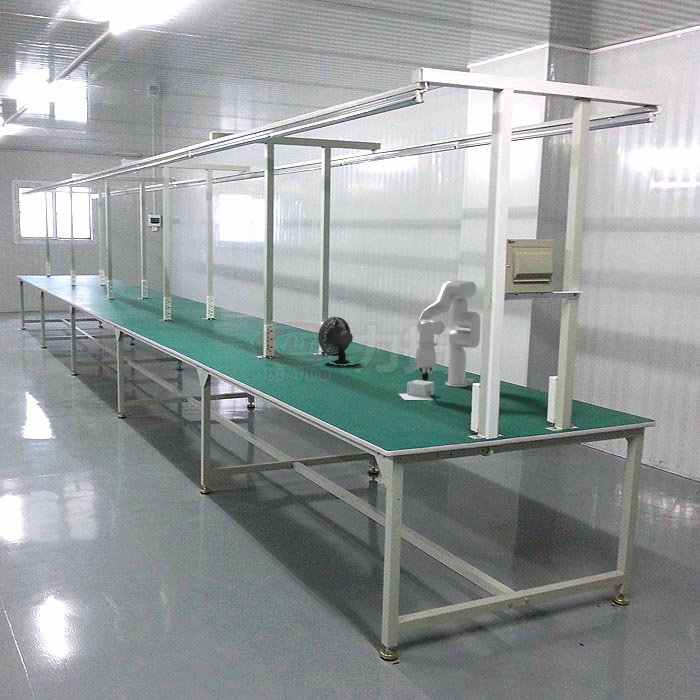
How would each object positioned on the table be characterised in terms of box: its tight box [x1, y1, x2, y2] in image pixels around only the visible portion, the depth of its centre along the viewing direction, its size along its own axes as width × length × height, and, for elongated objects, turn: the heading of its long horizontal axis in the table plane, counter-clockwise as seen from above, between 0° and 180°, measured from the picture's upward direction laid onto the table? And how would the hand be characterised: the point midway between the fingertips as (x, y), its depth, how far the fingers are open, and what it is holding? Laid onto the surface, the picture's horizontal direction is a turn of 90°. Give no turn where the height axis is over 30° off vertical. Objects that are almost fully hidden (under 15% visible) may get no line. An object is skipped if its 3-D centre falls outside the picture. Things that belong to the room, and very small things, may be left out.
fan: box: [317, 316, 354, 364], centre depth 495 cm, size 26×26×30 cm
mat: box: [398, 393, 434, 401], centre depth 393 cm, size 15×16×1 cm
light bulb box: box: [406, 379, 435, 397], centre depth 399 cm, size 11×7×11 cm
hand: (424, 380), depth 393 cm, fingers closed
